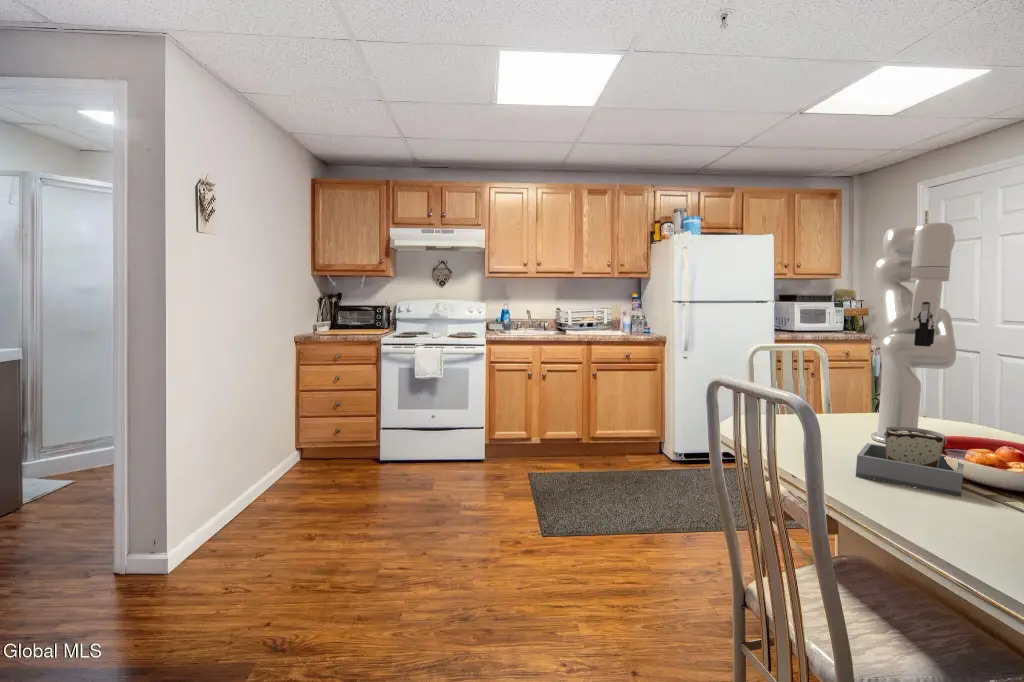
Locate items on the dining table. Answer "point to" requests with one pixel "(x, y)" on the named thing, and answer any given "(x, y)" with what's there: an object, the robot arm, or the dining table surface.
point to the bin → (909, 471)
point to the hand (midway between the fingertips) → (923, 344)
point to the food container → (914, 445)
